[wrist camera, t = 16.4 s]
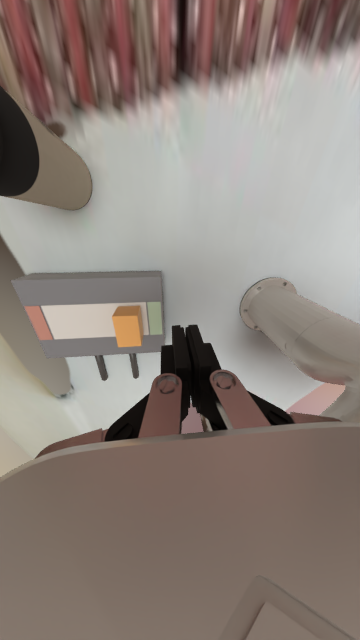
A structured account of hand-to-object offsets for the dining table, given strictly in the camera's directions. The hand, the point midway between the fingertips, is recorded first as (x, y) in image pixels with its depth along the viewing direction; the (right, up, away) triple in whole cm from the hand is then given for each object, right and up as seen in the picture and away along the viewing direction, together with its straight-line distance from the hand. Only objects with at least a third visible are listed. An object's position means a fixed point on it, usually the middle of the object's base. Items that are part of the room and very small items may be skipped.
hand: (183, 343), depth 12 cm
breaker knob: (-9, +1, +21) cm, 23 cm away
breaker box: (-16, -1, +28) cm, 32 cm away
